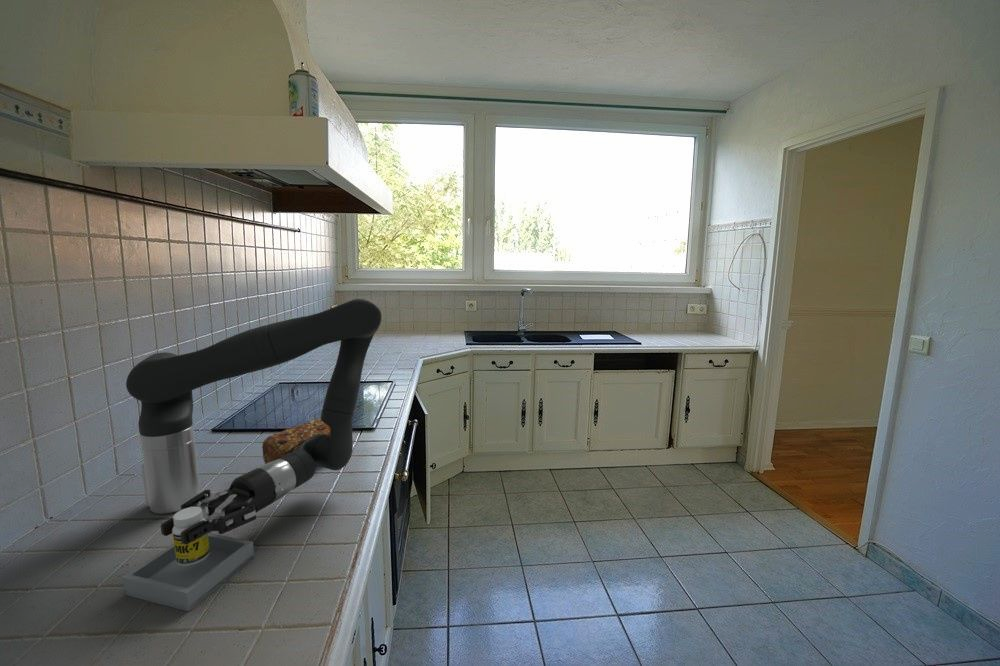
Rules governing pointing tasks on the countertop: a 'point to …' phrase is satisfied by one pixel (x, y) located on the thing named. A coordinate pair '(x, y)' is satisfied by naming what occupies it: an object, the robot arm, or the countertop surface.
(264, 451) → the bread
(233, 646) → the countertop surface
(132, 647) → the countertop surface
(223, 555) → the bin
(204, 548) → the supplement bottle
